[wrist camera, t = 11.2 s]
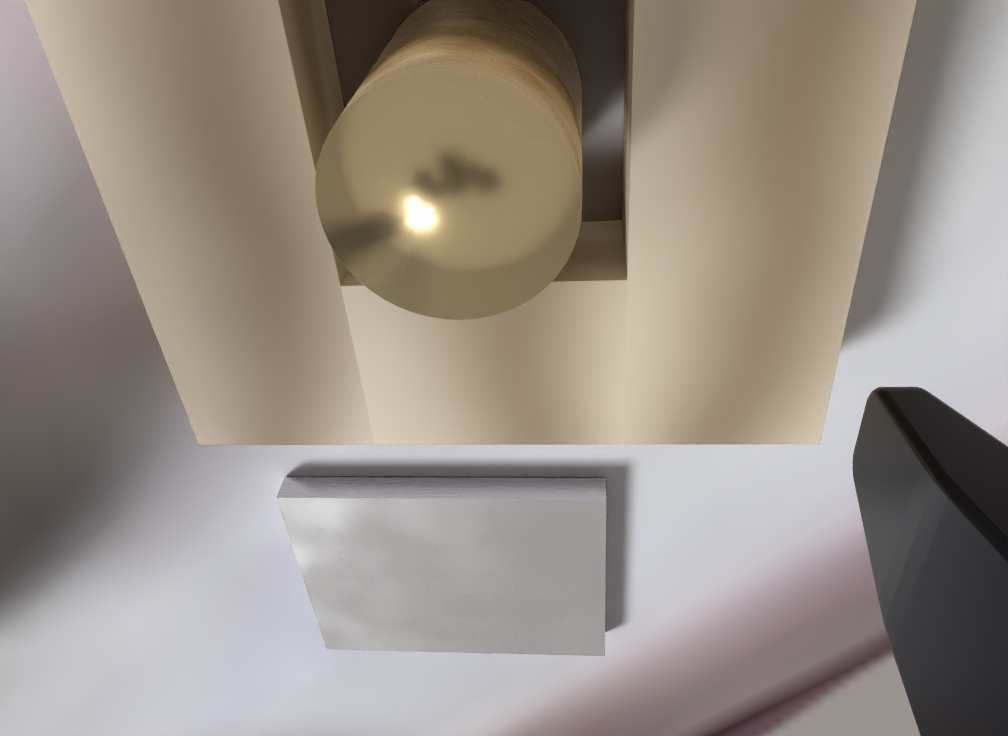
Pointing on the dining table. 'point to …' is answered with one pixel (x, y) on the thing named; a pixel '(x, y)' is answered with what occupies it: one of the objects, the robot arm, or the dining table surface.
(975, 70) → the dining table surface
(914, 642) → the robot arm
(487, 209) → the gold cylinder
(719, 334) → the hole deck
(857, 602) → the dining table surface
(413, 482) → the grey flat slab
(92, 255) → the dining table surface
